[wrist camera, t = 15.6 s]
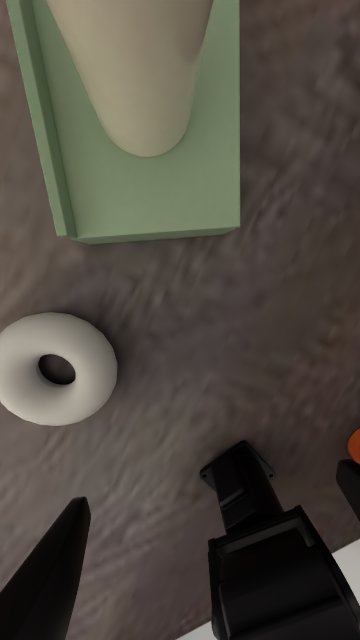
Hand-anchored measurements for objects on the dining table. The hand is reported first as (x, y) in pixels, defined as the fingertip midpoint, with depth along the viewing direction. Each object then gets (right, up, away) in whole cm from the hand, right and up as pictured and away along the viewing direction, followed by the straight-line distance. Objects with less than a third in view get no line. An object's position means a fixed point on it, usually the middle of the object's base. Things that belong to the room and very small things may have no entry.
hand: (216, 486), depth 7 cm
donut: (-12, +2, +12) cm, 17 cm away
